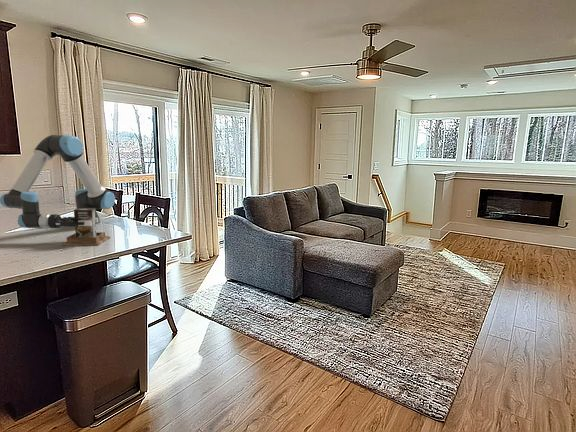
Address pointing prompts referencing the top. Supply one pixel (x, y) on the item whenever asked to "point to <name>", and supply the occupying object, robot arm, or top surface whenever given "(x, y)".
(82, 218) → the coffee box
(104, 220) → the top surface
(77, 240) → the socket bay
